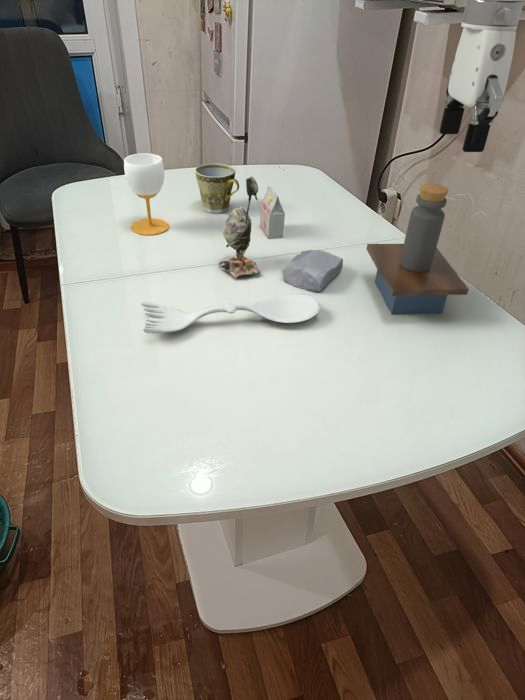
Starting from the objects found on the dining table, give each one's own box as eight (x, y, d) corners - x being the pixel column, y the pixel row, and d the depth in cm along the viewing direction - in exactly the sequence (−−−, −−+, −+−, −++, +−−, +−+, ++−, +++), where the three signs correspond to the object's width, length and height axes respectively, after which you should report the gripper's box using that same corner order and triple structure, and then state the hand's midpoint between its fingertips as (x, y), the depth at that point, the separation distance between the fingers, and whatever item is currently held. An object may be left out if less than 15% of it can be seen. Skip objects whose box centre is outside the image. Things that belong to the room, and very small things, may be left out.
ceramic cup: (188, 208, 132) (186, 169, 126) (216, 198, 138) (215, 160, 132) (224, 223, 126) (224, 183, 120) (251, 212, 132) (252, 173, 126)
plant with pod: (251, 253, 114) (253, 162, 102) (262, 278, 105) (266, 183, 93) (215, 255, 112) (213, 164, 100) (223, 282, 104) (222, 185, 91)
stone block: (278, 288, 106) (323, 294, 101) (276, 267, 103) (321, 271, 98) (304, 267, 114) (346, 271, 109) (302, 246, 112) (345, 250, 107)
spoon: (142, 315, 93) (140, 299, 91) (310, 299, 100) (311, 284, 97) (145, 345, 86) (142, 328, 84) (324, 326, 93) (326, 310, 91)
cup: (123, 231, 120) (113, 162, 110) (143, 216, 127) (136, 150, 117) (157, 238, 118) (150, 168, 108) (176, 223, 125) (171, 156, 115)
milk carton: (274, 225, 126) (276, 185, 120) (283, 237, 121) (286, 196, 115) (260, 226, 125) (261, 186, 119) (268, 238, 120) (270, 197, 114)
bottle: (422, 256, 100) (441, 181, 91) (436, 271, 96) (458, 193, 86) (394, 258, 99) (411, 182, 90) (407, 273, 95) (426, 195, 85)
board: (432, 248, 106) (433, 243, 105) (467, 294, 92) (469, 289, 91) (366, 249, 105) (367, 243, 104) (391, 296, 90) (393, 290, 90)
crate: (420, 281, 107) (427, 255, 103) (442, 313, 98) (450, 286, 94) (374, 281, 106) (379, 255, 102) (391, 314, 97) (397, 287, 93)
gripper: (549, 22, 65) (507, 159, 76) (489, 10, 79) (461, 127, 89) (492, 22, 65) (458, 159, 75) (443, 9, 78) (419, 127, 89)
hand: (460, 142), depth 82 cm, fingers open, 9 cm apart
